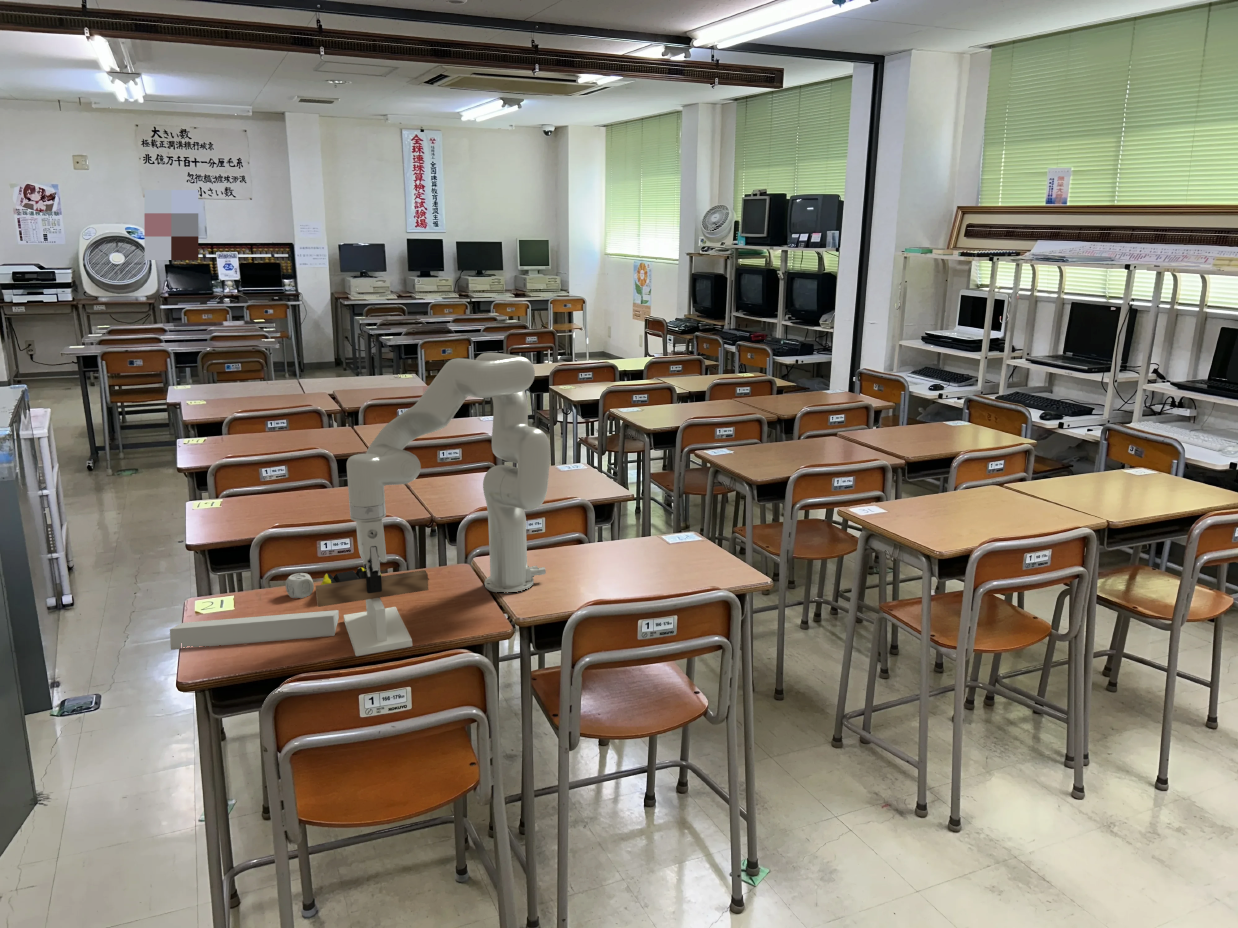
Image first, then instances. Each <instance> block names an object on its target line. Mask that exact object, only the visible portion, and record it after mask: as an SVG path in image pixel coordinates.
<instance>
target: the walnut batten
mask: <svg viewBox="0 0 1238 928" xmlns="http://www.w3.org/2000/svg"><path fill="white" fill-rule="evenodd" d="M428 575H429V574H428V572H427V570H426V569H421V570H417V571H410V572H400V573H394V574H389V575H382V576H381V582H382V591H381V592H375V593H367V586H366V579H359V580H352V581H345V582H338V583H331V584H324V585H321V584H319V585H315V594H316V595H315V596H316V604H317V607H318V608H320V607H328V606H335V605H340V604H346V603H354V602H360V601H366V600H368V599H374V598H380V599H381V598H386V597H392V596H393V597H394V596H398V595H405V594H413V593H418V592H426V591H429V578H428V577H429V576H428Z"/></svg>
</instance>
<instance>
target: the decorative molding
mask: <svg viewBox="0 0 1238 928" xmlns="http://www.w3.org/2000/svg"><path fill="white" fill-rule="evenodd" d="M339 612H340V611H339V609H338V610H337V609H334V610H324V611H314V612H313V611H309V612H300V613H299V612H298V613H287V614H274V615H273V614H272V615H263V616H248V617H239V618H238V617H237V618H227V619H226V618H225V619H223V618H222V619H212V620H200V621H199V620H198V621H188V622H186V621H185V622H182V623H181V622H180V623H179V624H178V625H176V626H173V627H171V628H170V629H169V639H170V641H169V642H170V650H171V651H174V650H181V649H180V647H181V643H182V648H183V647H185V649H187V648H186V647H187V646H190V647H191V646H193V647H199V646H205V647H204V648H207V647H206V646H209V647H218V646H219V645H221V646H230V645H240V644H254V643H266V642H276V641H277V642H278V641H288V640H298V639H299V640H301V639H311V638H312V639H315V638H322V637H334V636H336V635H335V634H336V631H337V625H338V622H339V616H340V613H339ZM199 648H200V647H199Z"/></svg>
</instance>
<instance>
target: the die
mask: <svg viewBox="0 0 1238 928" xmlns="http://www.w3.org/2000/svg"><path fill="white" fill-rule="evenodd" d="M314 588H315V586H314V581H313V578H312V577H311V574H308V573H304V572H298V573H293V574H291V575H290V576H288V577H287V579H286V580H285V591H286V592H287V595H288V596H289V598H292V599H294V598H300V599H305V598H308V597H309V596H310V595H312V593H313V591H314ZM307 596H308V597H307ZM304 597H305V598H304Z"/></svg>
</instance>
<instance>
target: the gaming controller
mask: <svg viewBox="0 0 1238 928" xmlns="http://www.w3.org/2000/svg"><path fill="white" fill-rule="evenodd" d="M363 571H364V567H361V566H360V567H358V568H357V570H356V571H354V570H348V571H345V572H343V571H342V572H338V573H335V575H334V576H332V574H331V573H325V575H324V576H323V580H322V582H321V583H320V585H324V584H331V583H338V582H345V581H352V580H359V579H364V572H363ZM380 574H381V576H383V575H382V573H381V572H380Z"/></svg>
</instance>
